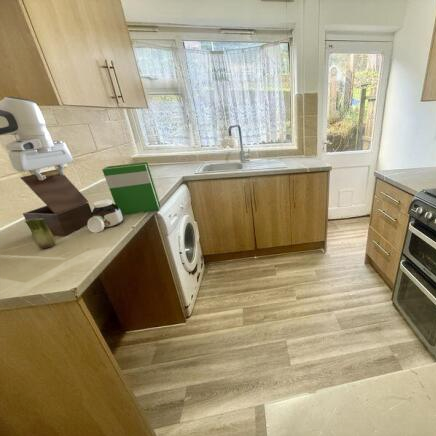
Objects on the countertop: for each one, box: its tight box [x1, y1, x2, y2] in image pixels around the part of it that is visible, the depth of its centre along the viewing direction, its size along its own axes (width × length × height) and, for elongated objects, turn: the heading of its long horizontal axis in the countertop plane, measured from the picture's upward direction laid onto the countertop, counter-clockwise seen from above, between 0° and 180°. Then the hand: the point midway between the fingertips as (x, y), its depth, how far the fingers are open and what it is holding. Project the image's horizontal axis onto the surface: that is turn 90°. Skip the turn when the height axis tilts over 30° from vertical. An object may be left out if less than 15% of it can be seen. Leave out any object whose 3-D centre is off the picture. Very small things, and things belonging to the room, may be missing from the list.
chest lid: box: [20, 168, 89, 214], centre depth 103 cm, size 17×15×5 cm
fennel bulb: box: [24, 218, 56, 249], centre depth 93 cm, size 6×5×12 cm
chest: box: [22, 202, 93, 237], centre depth 109 cm, size 17×15×10 cm
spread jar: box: [86, 198, 124, 234], centre depth 108 cm, size 12×11×12 cm
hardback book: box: [101, 161, 161, 216], centre depth 122 cm, size 18×7×24 cm, turn 111°
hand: (52, 177), depth 101 cm, fingers closed on chest lid, 6 cm apart
